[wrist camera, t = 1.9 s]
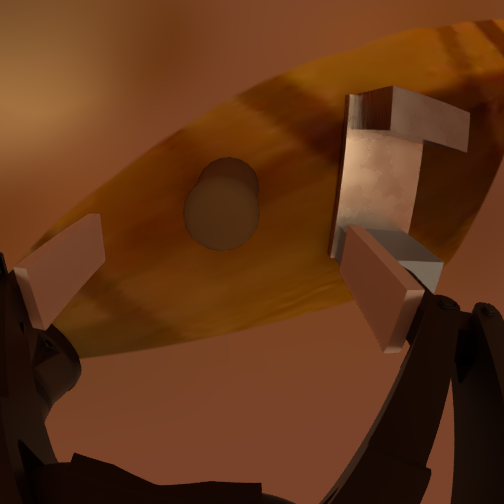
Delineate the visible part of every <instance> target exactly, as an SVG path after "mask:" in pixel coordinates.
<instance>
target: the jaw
mask: <svg viewBox="0 0 504 504" xmlns="http://www.w3.org/2000/svg"><path fill="white" fill-rule="evenodd" d="M347 229H348V227H340V231H339V237H338V243H337V248H336V254H335V259H336V261H337V262H338V264H339V265H340V266H341V261H342V256H343V251H344V246H345V240H346V235H347ZM365 230H366V231H367V232H368V233H369V234H370V235H371V236H373V237H374V238H375V239H376V240H377V241H378V242H379V243H380V244H381V245H382V246H383V247H384V248H385V249H386V250H387V251H388V252H389V253H390V254H391V255H392V256H393V257H394V258H395V259H396V260H397V261H398V262H399V263H400V264H401V265H402V266H403V267H405V268H407V269H408V270H410V271H412V272H413V273H414V274H415V275H416V276H417V277H418V279H420V280H421V282H422V284H424V285H425V286H426V287H427V288H428V289H429V290H430V291H431V292H432V293H433V294H434V291H435V288H436V286H437V283H438V280H439V277H440V273H441V270H442V267H443V264H444V262H443V261H441V260H440V259H439V258H438V257H437V256H435V255H434V254H433V253H431V252H430V251H429V250H428V249H426V248H425V247H424V246H423V245H421V244H420V243H419V242H417V241H416V240H415V239H413V238H412V237H411V236H409V235H408V234H407V233H405V232H399V231H388V230H376V229H365Z"/></svg>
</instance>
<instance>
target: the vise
mask: <svg viewBox="0 0 504 504" xmlns="http://www.w3.org/2000/svg"><path fill="white" fill-rule="evenodd" d="M469 122H470V113H468V112H466V111H464V110H461V109H459V108H456V107H454V106H452V105H449V104H446V103H444V102H441V101H439V100H436V99H433V98H430V97H428V96H425V95H422V94H419V93H416V92H413V91H410V90H406V89H403V88H400V87H396V86H389V87H385V88H380V89H376V90H372V91H368V92H364V93H360V94H357V95H352V94H348V95H346V101H345V116H344V128H343V139H342V150H341V159H340V168H339V177H338V185H337V193H336V201H335V208H334V215H333V222H332V229H331V235H330V241H329V247H328V255H329V256H330V258H335V254H336V248H337V243H338V237H339V231H340V227H348V225H356V226H362V227H363V228H364V229H376V230H388V231H399V232H405V233H407V234H408V231H409V227H410V222H411V217H412V212H413V207H414V202H415V196H416V190H417V184H418V178H419V171H420V164H421V156H422V148H423V144H426V145H431V146H437V147H442V148H448V149H453V150H458V151H462V152H467V146H468V135H469Z"/></svg>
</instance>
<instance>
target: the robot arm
mask: <svg viewBox="0 0 504 504" xmlns="http://www.w3.org/2000/svg"><path fill="white" fill-rule="evenodd" d="M105 261H106V257H105V250H104V243H103V235H102V227H101V217H100V214H87V215H86V216H84V217H83V218H81V219H80V220H78V221H77V222H75V223H74V224H72V225H71V226H69V227H68V228H66V229H65V230H63V231H62V232H60V233H59V234H57V235H56V236H55V237H53V238H52V239H50V240H49V241H47V242H46V243H45V244H43V245H42V246H41V247H39V248H38V249H36V250H35V251H34V252H32V253H31V254H30V255H28V256H27V257H26V258H24V259H23V260H22V261H21V262H19V263H18V264H17V265H15V266H14V267H13V268H14V269H13V270H12V271H11V272H10V273H8V271H7V268H6V264H5V260H4V256H3V253H1V252H0V504H295V503H293V502H291V501H288V500H286V499H283V498H280V497H277V496H273V495H269V494H264V493H262V487H261V483H234V482H215V481H208V482H200V483H191V484H178V485H156V484H153V483H151V482H148V481H146V480H144V479H142V478H140V477H137V476H135V475H133V474H131V473H129V472H127V471H125V470H123V469H121V468H119V467H117V466H115V465H113V464H109V463H106V462H102V461H99V460H96V459H92V458H89V457H86V456H83V455H80V454H77V453H74V454H73V457H72V460H71V462H66V463H64V462H62V463H59V462H58V461H57V459H56V457H55V454H54V452H53V449H52V446H51V444H50V440H49V437H48V434H47V430H46V427H45V423H44V422H45V420H46V418H47V416H48V414H49V412H50V410H51V408H52V406H53V404H54V403H55V402H56V401H57V400H58V399H60V398H61V397H62V396H63V395H64V394H65V393H66V392H67V391H69V390H71V389H72V388H73V387H74V386H75V385H76V383H77V381H78V379H79V377H80V375H81V364H80V360H79V358H78V356H77V354H76V352H75V350H74V349H73V347H72V346H71V344H70V343H69V342H68V341H67V339H66V338H65V337H64V336H63V335H62V334H61V333H60V332H59V331H58V330H57V329H56V328H54V327H53V326H52V325H51V323H52V322H53V321H54V320H55V318H56V317H57V316H58V315H59V313H60V312H61V311H62V310H63V309H64V307H65V306H66V305H67V304H68V303H69V301H70V300H71V299H72V298H73V297H74V295H75V294H76V293H77V292H78V291H79V290H80V289H81V287H82V286H83V285H84V284H85V283H86V282H87V281H88V279H89V278H90V277H91V276H92V275H93V274H94V273H95V272H96V271H97V270H98V268H99V267H100V266H101V265H102V264H103V263H104V262H105ZM339 273H340V274H341V276H342V278H343V280H344V281H345V283H346V285H347V287H348V288H349V290H350V292H351V294H352V295H353V297H354V299H355V301H356V302H357V304H358V306H359V308H360V310H361V312H362V313H363V315H364V317H365V319H366V320H367V322H368V324H369V326H370V328H371V330H372V331H373V333H374V336H375V337H376V339H377V341H378V343H379V345H380V347H381V349H382V351H383V352H384V353H394V352H401V349H402V347H403V345H404V343H405V340H407V341H408V343H409V345H410V348H409V350H408V352H407V355H406V356H405V359H404V361H403V363H402V365H401V367H400V371H399V373H398V375H397V377H396V379H395V382H394V384H393V386H392V388H391V390H390V392H389V394H388V396H387V398H386V400H385V402H384V404H383V406H382V408H381V410H380V412H379V414H378V416H377V417H376V419H375V421H374V423H373V425H372V426H371V428H370V430H369V432H368V434H367V435H366V437H365V439H364V440H363V442H362V444H361V445H360V447H359V448H358V450H357V452H356V453H355V455H354V456H353V458H352V460H351V461H350V463H349V464H348V466H347V467H346V469H345V470H344V472H343V473H342V475H341V476H340V478H339V479H338V481H337V482H336V483H335V485H334V486H333V487H332V489H331V490H330V491H329V492H328V494H327V495H326V496H325V497H324V499H323V500H322V501H321V502H320V503H319V504H420V503H421V500H422V498H423V495H424V493H425V491H426V488H427V486H428V483H429V480H430V477H431V469H429V468H426V463H427V460H428V457H429V454H430V452H431V449H432V446H433V443H434V440H435V437H436V434H437V430H438V427H439V424H440V420H441V417H442V413H443V409H444V405H445V401H446V397H447V393H448V389H449V384H450V379H451V381H452V391H453V406H454V437H455V442H454V443H455V444H454V445H455V447H454V448H455V449H454V472H453V473H454V474H453V486H452V497H451V504H504V320H503V318H502V316H501V314H500V312H499V311H498V310H497V309H496V308H495V307H494V306H493V305H491V304H489V303H488V304H487V303H482V302H479V303H476V304H475V306H474V309H473V311H472V313H468V312H462V311H460V306H459V305H458V304H457V302H455V301H454V300H452V299H451V298H448V297H446V296H443V295H434V294H433V293H432V292H431V291H430V290H429V289H428V288H427V287H426V286H425V285H424V284H422V282H421V280H420V279H418V277H417V276H416V275H415V274H414V273H413V272H412V271H410V270H408V269H407V268H405V267H403V266H402V265H401V264H400V263H399V262H398V261H397V260H396V259H395V258H394V257H393V256H392V255H391V254H390V253H389V252H388V251H387V250H386V249H385V248H384V247H383V246H382V245H381V244H380V243H379V242H378V241H377V240H376V239H375V238H374V237H373V236H371V235H370V234H369V233H368V232H367V231H366V230H365V229H364V228H363V227H362V226H356V225H348V229H347V235H346V240H345V246H344V251H343V256H342V261H341V266H340V271H339Z"/></svg>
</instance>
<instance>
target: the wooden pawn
mask: <svg viewBox="0 0 504 504" xmlns="http://www.w3.org/2000/svg"><path fill="white" fill-rule="evenodd" d="M258 190H259V186H258V179H257V177H256V174H255V172H254V170H253V169H252V168H251V167H250V166H249V165H248V164H247V163H245V162H243V161H241V160H239V159H235V158H230V157H228V158H221V159H218V160H216V161H213V162H211V163H210V164H209V165H208V166H207V167H206V168H205V169H204V170H203V172H202V174H201V176H200V177H199V182H198V184H197V185H196V186H195V187H194V188H193V189H192V190H191V191H190V193H189V195H188V197H187V199H186V201H185V205H184V212H183V214H184V220H185V225H186V228H187V230H188V231H189V233H190V235H191V237H192V238H194V239H195V240H196V241H197V242H198V243H199V244H200V245H202V246H204V247H206V248H208V249H212V250H218V251H224V250H232V249H234V248H236V247H239V246H241V245H242V244H243V243H245V242H246V241H247V240H248V239H249V238H250V237H251V236H252V234H253V233H254V231H255V229H256V228H257V225H258V220H259V216H260V215H259V205H258V201H257V195H258Z"/></svg>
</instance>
